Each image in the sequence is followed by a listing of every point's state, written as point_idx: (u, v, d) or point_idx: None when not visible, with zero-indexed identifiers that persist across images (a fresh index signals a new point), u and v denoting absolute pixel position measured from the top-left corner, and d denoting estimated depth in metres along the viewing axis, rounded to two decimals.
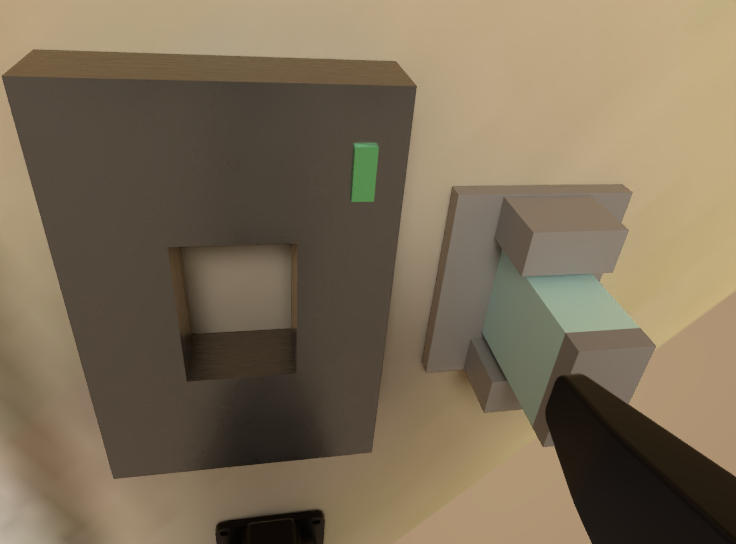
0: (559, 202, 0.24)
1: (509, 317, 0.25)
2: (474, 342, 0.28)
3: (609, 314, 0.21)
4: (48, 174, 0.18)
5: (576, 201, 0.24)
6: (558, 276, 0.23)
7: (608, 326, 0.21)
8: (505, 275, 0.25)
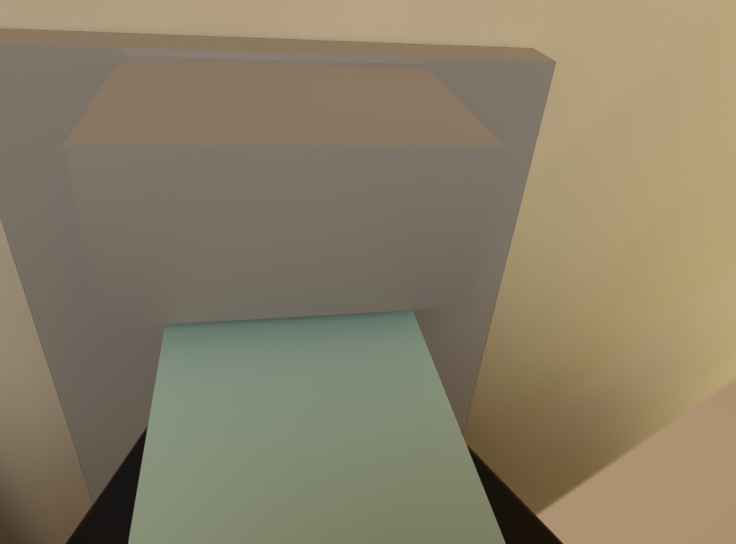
0: (301, 73, 0.07)
1: None
2: None
3: (403, 501, 0.05)
4: None
5: (364, 74, 0.07)
6: (288, 319, 0.07)
7: None
8: None
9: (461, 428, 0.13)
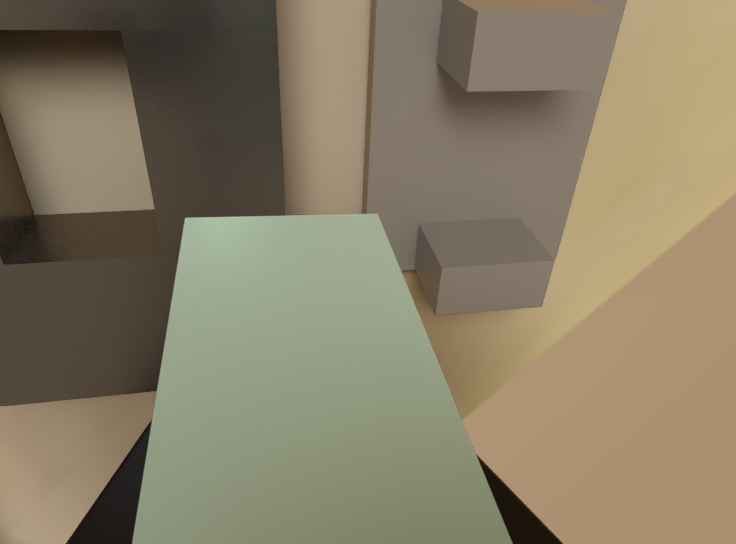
0: None
1: None
2: (423, 227, 0.21)
3: (408, 497, 0.05)
4: None
5: None
6: (291, 317, 0.07)
7: None
8: None
9: (565, 216, 0.22)
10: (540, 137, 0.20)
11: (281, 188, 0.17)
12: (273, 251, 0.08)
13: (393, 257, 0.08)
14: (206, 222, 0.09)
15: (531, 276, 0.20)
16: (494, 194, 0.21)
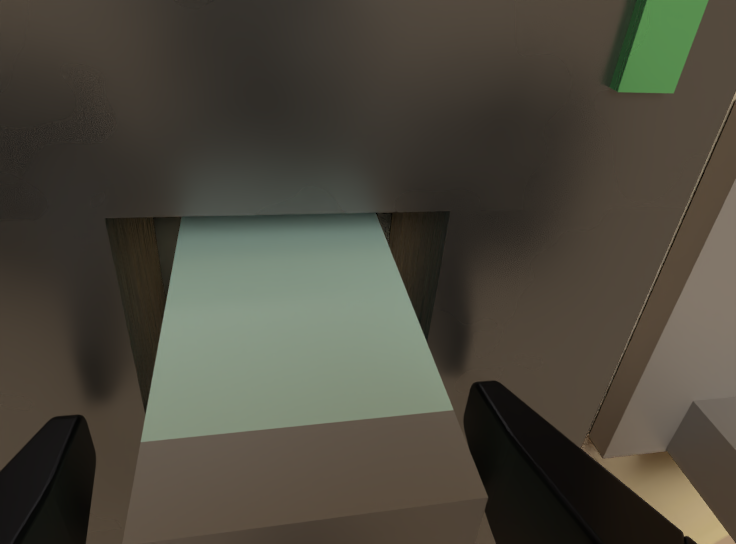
0: None
1: None
2: (703, 408, 0.15)
3: (365, 357, 0.06)
4: None
5: None
6: (278, 240, 0.08)
7: (331, 408, 0.06)
8: None
9: None
10: None
11: (595, 408, 0.11)
12: None
13: None
14: None
15: None
16: None
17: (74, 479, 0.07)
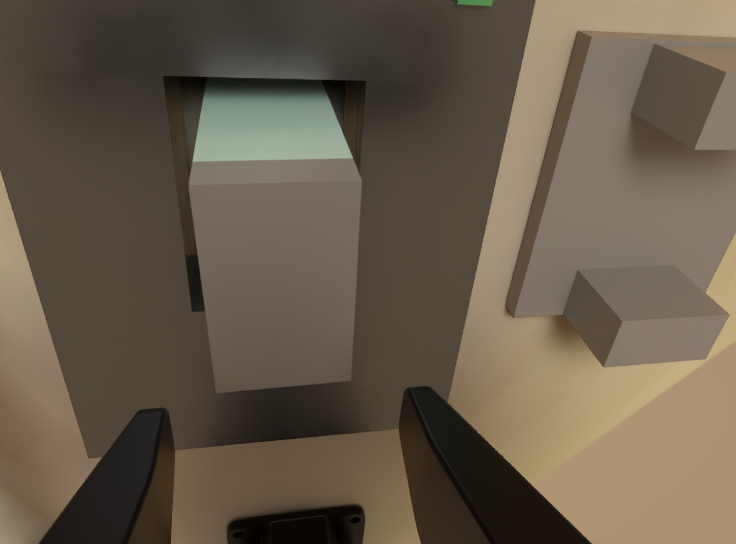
0: None
1: None
2: (583, 273, 0.20)
3: (309, 142, 0.12)
4: None
5: None
6: (264, 102, 0.14)
7: (289, 155, 0.11)
8: None
9: (717, 265, 0.22)
10: (712, 187, 0.20)
11: (480, 239, 0.16)
12: (256, 83, 0.15)
13: (322, 86, 0.15)
14: None
15: (703, 330, 0.19)
16: (655, 242, 0.21)
17: (163, 470, 0.08)
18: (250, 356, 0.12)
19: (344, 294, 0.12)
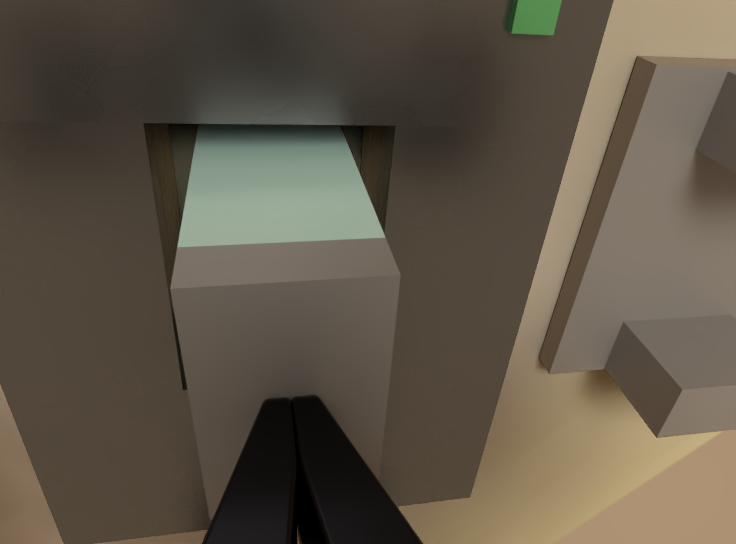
0: None
1: None
2: (631, 327, 0.18)
3: (328, 212, 0.09)
4: None
5: None
6: (269, 150, 0.11)
7: (303, 235, 0.08)
8: None
9: None
10: None
11: (523, 302, 0.14)
12: None
13: (338, 127, 0.12)
14: None
15: None
16: (712, 290, 0.18)
17: None
18: None
19: (372, 406, 0.09)
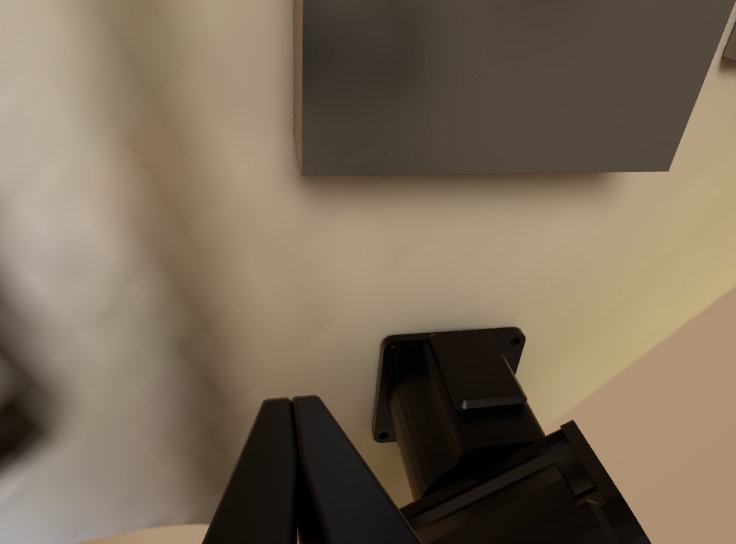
0: None
1: None
2: None
3: None
4: None
5: None
6: None
7: None
8: None
9: None
10: None
11: None
12: None
13: None
14: None
15: None
16: None
17: None
18: None
19: None
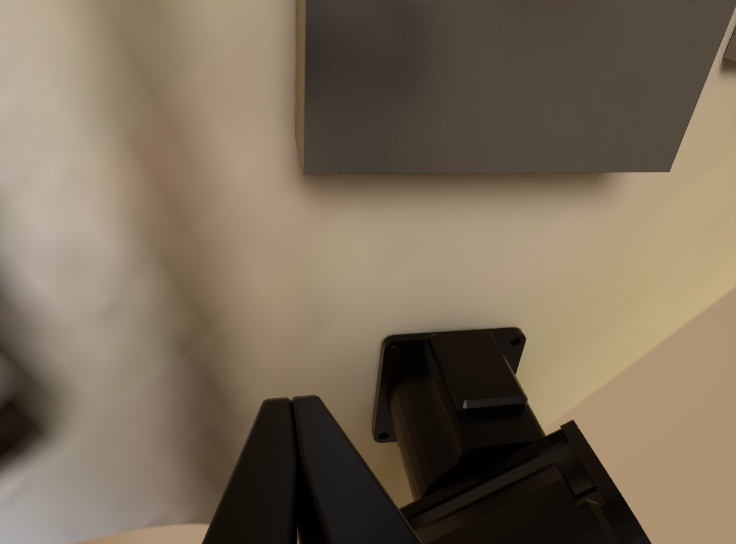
0: None
1: None
2: None
3: None
4: None
5: None
6: None
7: None
8: None
9: None
10: None
11: None
12: None
13: None
14: None
15: None
16: None
17: None
18: None
19: None
